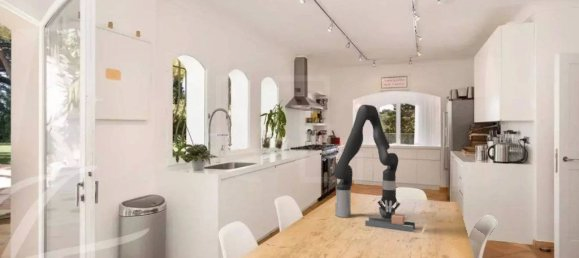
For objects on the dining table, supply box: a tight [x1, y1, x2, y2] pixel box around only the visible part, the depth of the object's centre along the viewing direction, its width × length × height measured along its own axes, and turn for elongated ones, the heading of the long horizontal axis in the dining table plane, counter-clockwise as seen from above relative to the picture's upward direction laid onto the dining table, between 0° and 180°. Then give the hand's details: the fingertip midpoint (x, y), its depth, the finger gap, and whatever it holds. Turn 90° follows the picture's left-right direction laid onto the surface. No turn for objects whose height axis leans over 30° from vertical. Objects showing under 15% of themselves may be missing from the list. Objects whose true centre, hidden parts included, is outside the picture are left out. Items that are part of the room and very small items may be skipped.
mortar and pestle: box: [378, 206, 396, 220], centre depth 215 cm, size 11×9×12 cm
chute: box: [364, 216, 416, 233], centre depth 196 cm, size 26×9×4 cm, turn 63°
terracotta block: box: [391, 213, 405, 225], centre depth 194 cm, size 6×6×7 cm
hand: (388, 218), depth 196 cm, fingers closed
